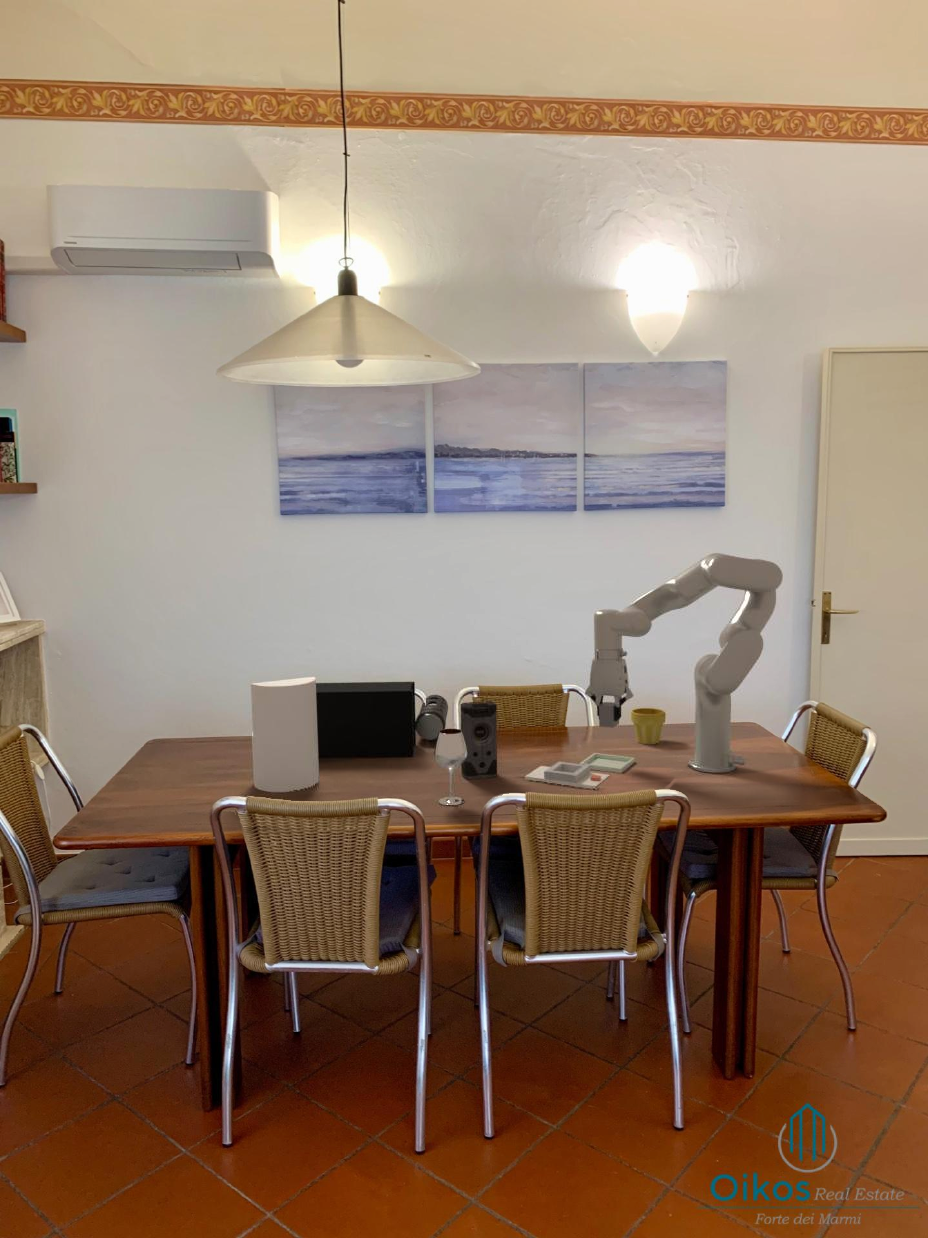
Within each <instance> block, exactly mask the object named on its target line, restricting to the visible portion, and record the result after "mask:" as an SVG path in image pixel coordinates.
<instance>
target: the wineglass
mask: <svg viewBox="0 0 928 1238" xmlns="http://www.w3.org/2000/svg"><path fill="white" fill-rule="evenodd" d="M435 741H436V742H435V746H434V750H433V751H434V752H433V753H434V754H433V755H434V758H435V760H436V762H437V763H438V765H440V766H441V767H442V768H444V769H445V771H447V772H448V775H449V796H446V797H442V798H439V800H438V803H439V804H440V805H443V806H446V805H455V806H459V805H462V804H463V803H465V800H464V798H463V797H462V798H461V797H459V796H454V780H453V779H454V778H453V777H454V773H455V771H456V770H458V768H460V767H461V765H462V764H463V763H464V761H465V760H466V757H467V748H466V744H465V740H464V736H463V733H462V730H461V728H460V729H458V728H445V729H442V730H440V731H439V733H438V737H437V739H436V740H435ZM461 803H462V804H461Z"/></svg>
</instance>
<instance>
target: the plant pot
mask: <svg viewBox="0 0 928 1238" xmlns="http://www.w3.org/2000/svg"><path fill="white" fill-rule="evenodd" d="M630 711H631V713H630V715H631V716H630V720H631V722H632V723H633V726H634V732H635V737H636V742H638V743H639V744H643V745H656V743H657V744H659V743H660V739H661V734H662V730H663V726H664V724H665V722H666V711H665V710H664V709H661V708H654V707H638V708H634V709H632V710H630Z"/></svg>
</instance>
